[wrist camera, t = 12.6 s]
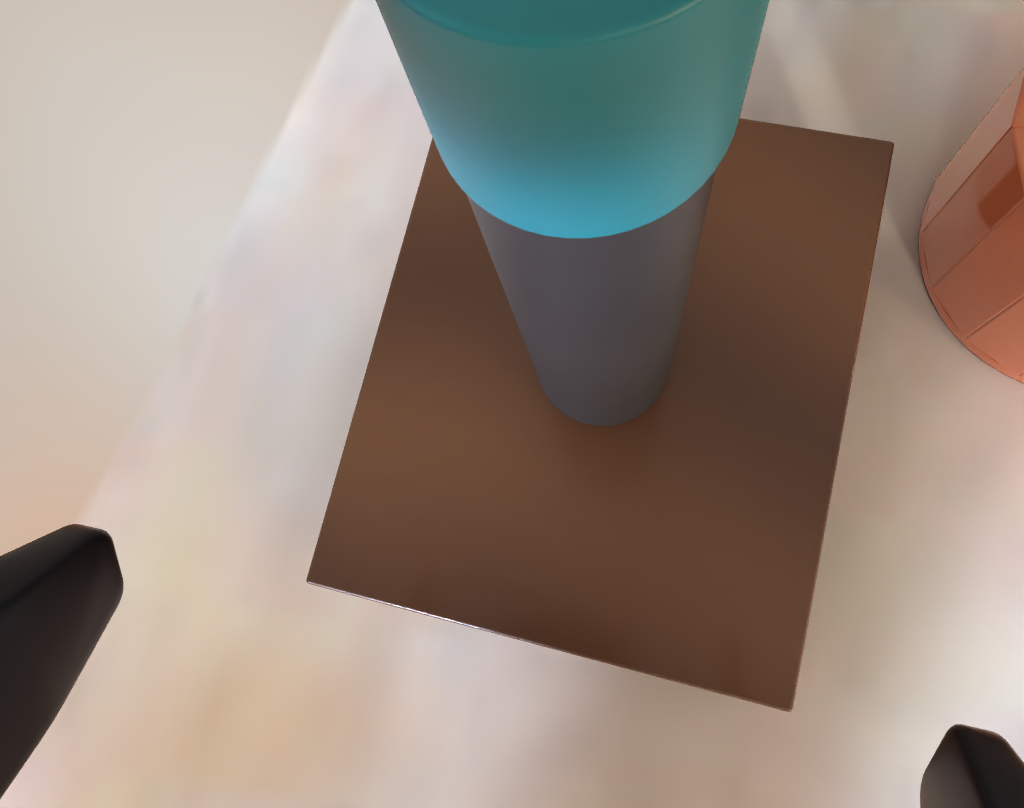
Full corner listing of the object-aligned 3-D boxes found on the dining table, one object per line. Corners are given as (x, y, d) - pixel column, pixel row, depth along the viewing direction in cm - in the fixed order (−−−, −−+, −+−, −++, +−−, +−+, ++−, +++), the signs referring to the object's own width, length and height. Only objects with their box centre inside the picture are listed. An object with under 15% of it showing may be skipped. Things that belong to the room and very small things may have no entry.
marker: (606, 460, 18) (572, 137, 5) (503, 366, 18) (241, -132, 6) (705, 356, 18) (914, -212, 5) (599, 266, 18) (554, -430, 6)
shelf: (759, 688, 20) (793, 713, 16) (360, 583, 22) (304, 582, 18) (847, 219, 22) (895, 141, 18) (477, 156, 24) (450, 72, 20)
